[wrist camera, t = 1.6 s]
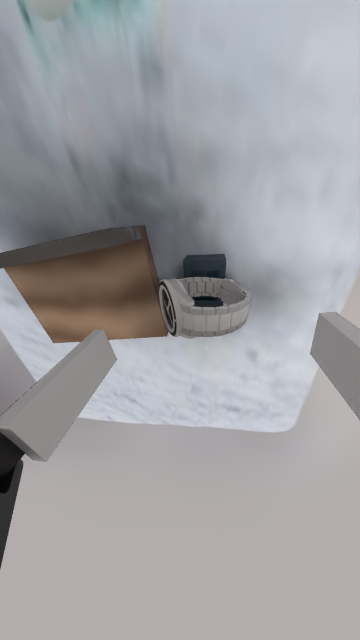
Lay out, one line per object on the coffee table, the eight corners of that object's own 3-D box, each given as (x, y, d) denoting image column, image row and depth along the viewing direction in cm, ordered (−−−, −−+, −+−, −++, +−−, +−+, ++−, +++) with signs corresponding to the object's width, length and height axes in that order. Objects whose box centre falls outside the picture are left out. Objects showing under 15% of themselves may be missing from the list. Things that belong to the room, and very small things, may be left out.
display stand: (11, 254, 24) (-68, 268, 17) (144, 225, 19) (108, 228, 13) (62, 336, 31) (19, 369, 24) (169, 328, 26) (155, 367, 19)
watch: (170, 256, 21) (137, 286, 11) (240, 253, 19) (267, 285, 10) (174, 299, 24) (150, 351, 14) (235, 299, 22) (253, 357, 13)
